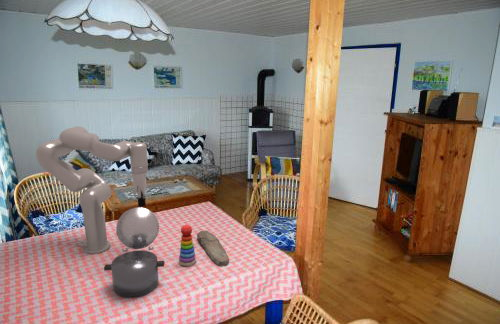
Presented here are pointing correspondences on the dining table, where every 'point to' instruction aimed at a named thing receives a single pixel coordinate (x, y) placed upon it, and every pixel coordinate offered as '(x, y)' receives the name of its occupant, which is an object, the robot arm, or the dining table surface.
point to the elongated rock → (213, 248)
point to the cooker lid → (137, 228)
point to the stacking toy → (187, 247)
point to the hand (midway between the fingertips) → (142, 205)
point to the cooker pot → (134, 273)
